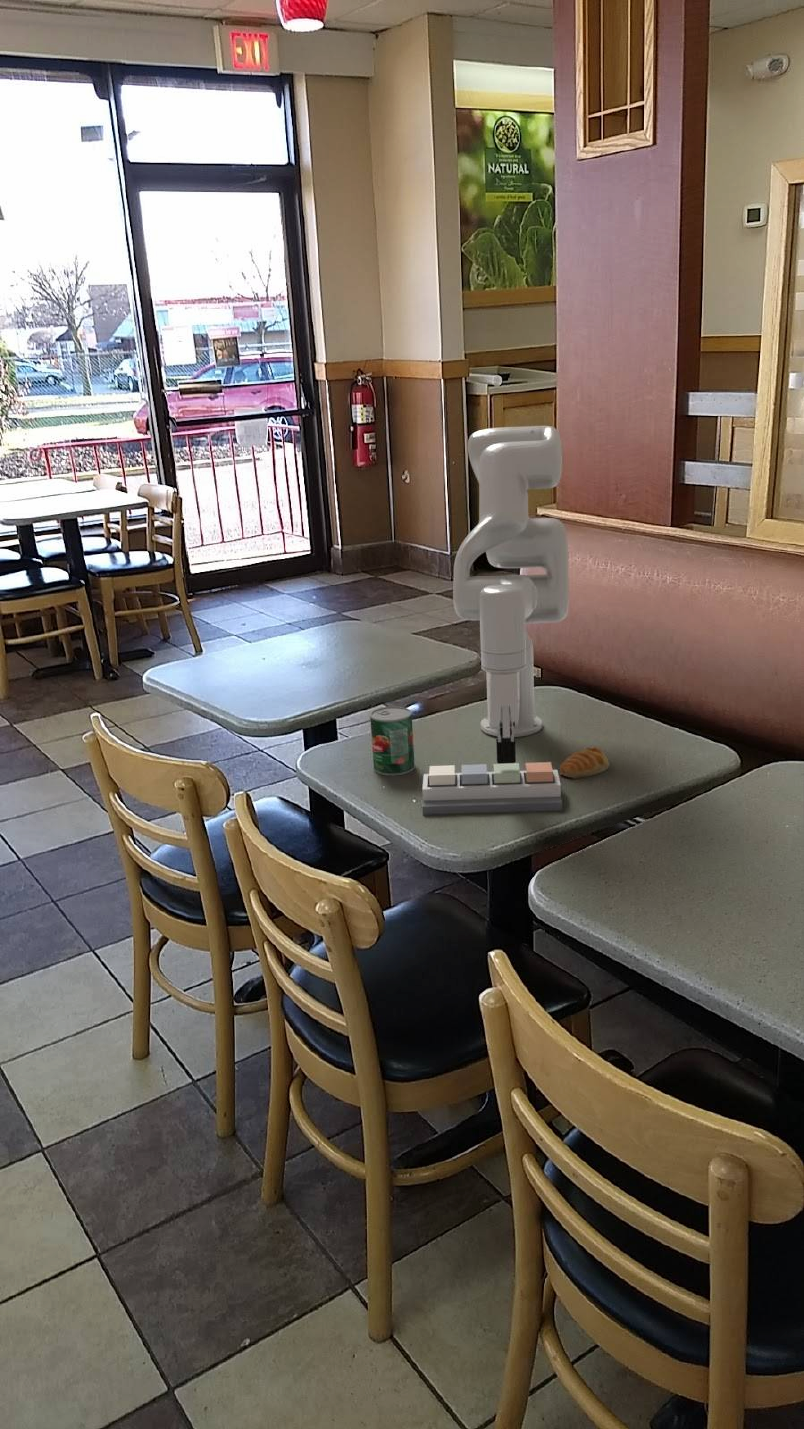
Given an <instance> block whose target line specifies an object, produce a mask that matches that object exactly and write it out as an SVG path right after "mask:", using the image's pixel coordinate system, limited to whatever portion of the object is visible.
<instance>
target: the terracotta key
mask: <svg viewBox="0 0 804 1429" xmlns="http://www.w3.org/2000/svg"><path fill="white" fill-rule="evenodd" d="M553 770H554V769H553V765H552V761H545V762H541V761H540V762H525V771H526V777H527V782H548V781H553Z"/></svg>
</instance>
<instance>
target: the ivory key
mask: <svg viewBox="0 0 804 1429" xmlns="http://www.w3.org/2000/svg"><path fill="white" fill-rule="evenodd" d="M455 773H456V765H451V764H450V765H430V766H429V772H428V774H429V785H453V784H455Z"/></svg>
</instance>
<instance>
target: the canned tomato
mask: <svg viewBox="0 0 804 1429" xmlns="http://www.w3.org/2000/svg"><path fill="white" fill-rule="evenodd" d="M369 719H370V734H371V748H372V760H373V761H372V762H373V770H374V772H375V773H376V772H377V773H376V774H378V773H379V774H378V775H381V774H382V776H390V775H391V776H401V775H406V774H408V773H410V772H412V771H413V770H415V768H416V764H415V749H414V745H415V744H414V734H413V729H414V728H413V718H412V710H411V709H409V708H407V707H403V706H384V707H379V708H376V709H374V710H372V711H371V712H370V713H369Z"/></svg>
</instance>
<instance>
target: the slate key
mask: <svg viewBox="0 0 804 1429" xmlns="http://www.w3.org/2000/svg"><path fill="white" fill-rule="evenodd" d="M487 766H488V764H485V763H480V764H478V763H477V764H461V773H462V784H485V783H487V772H488V767H487Z"/></svg>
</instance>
